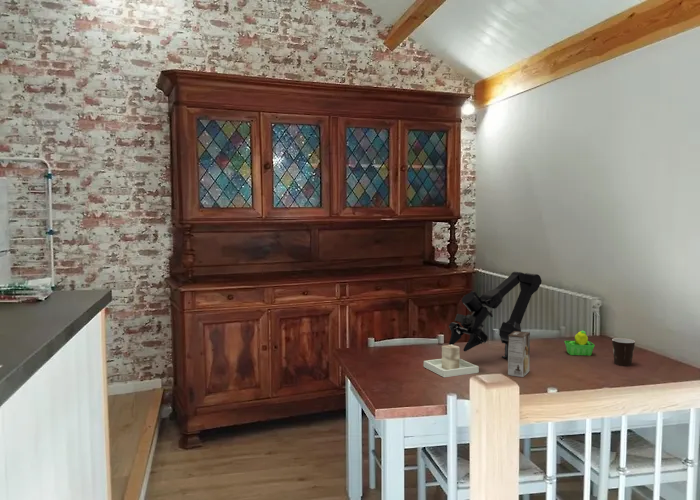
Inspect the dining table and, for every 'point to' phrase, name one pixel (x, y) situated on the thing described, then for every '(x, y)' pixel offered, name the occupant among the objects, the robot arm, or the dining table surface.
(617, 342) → the coffee mug
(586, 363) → the dining table surface
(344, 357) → the dining table surface
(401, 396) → the dining table surface
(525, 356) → the coffee box
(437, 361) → the tray
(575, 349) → the fruit basket
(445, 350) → the birch block
